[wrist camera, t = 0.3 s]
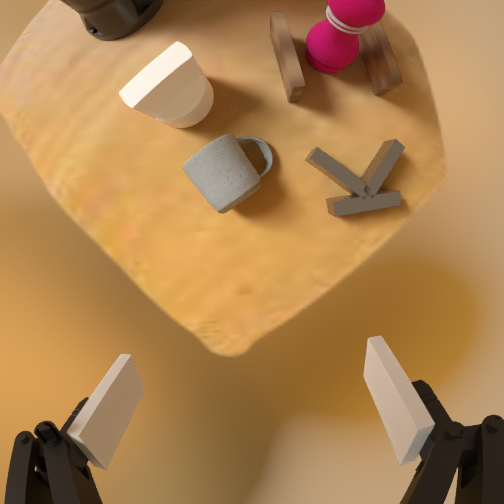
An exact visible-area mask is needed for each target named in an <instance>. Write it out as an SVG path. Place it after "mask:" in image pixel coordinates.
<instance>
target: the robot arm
mask: <svg viewBox="0 0 504 504" xmlns="http://www.w3.org/2000/svg"><path fill="white" fill-rule="evenodd" d="M61 1H62V2H64V3H65V4H67V5H68V6H69V7H71V8H72V9H74V10H75V11H77V12H78V13H79V15H80V17H81V19H82V21H83V24H84V26H85V28H86V30H87V31H88V32H89V33H90V34H91V35H92V36H94V37H95V38H97V39H99V40H105V41H108V40H115V39H118V38H121V37H124V36H126V35H129V34H130V33H132V32H134V31H136V30H137V29H139V28H140V27H142V26H143V25H144V24H145V23H147V22H148V21H149V20H150V19H151V18H152V17H153V16H154V15H155V13H156V12H157V11H158V9H159V8H160V6H161V4H162V2H163V0H61ZM364 379H365V381H366V383H367V385H368V388H369V390H370V392H371V395H372V397H373V399H374V402H375V404H376V407H377V409H378V412H379V414H380V416H381V419H382V421H383V424H384V426H385V429H386V431H387V434H388V436H389V439H390V441H391V444H392V446H393V449H394V452H395V454H396V457H397V460H398V462H399V465H403V464H406V463H409V462H412V461H415V460H416V458H417V457H418V455H419V454H420V456H421V459H422V461H421V462H420V464H419V465H418V467H417V468H416V473H415V475H414V477H413V479H412V481H411V483H410V485H409V487H408V489H407V491H406V493H405V495H404V497H403V499H402V500H401V502H400V504H443V503H444V501H445V499H446V496H447V494H448V491H449V488H450V486H451V483H452V481H453V478H454V475H455V472H456V469H457V468H458V478H457V488H456V497H455V504H504V420H503V419H502V418H501V417H500V416H498V415H490V416H487V417H486V418H485V419H484V420H483V422H482V424H479V425H473V426H463V425H462V424H461V423H458V422H453V421H452V420H451V419H450V417H449V415H448V414H447V412H446V411H445V409H444V408H443V406H442V405H441V403H440V401H439V400H438V399H437V397H436V395H435V394H434V392H433V390H432V389H431V387H430V386H429V385H428V384H427V383H425V382H424V381H422V380H418V381H415V382H410V380H409V379H408V377H407V376H406V374H405V372H404V371H403V369H402V367H401V366H400V365H399V363H398V361H397V359H396V358H395V356H394V355H393V353H392V352H391V350H390V348H389V347H388V345H387V344H386V343H385V341H384V339H383V338H382V336H376V337H371V338H368V343H367V352H366V361H365V368H364ZM145 390H146V389H145V386H144V384H143V382H142V379H141V377H140V375H139V372H138V370H137V368H136V365H135V363H134V360H133V358H132V355H131V354H130V355H129V354H120V356H119V357H118V358H117V360H116V361H115V362H114V364H113V365H112V367H111V368H110V369H109V371H108V372H107V374H106V375H105V376H104V378H103V379H102V381H101V382H100V383H99V385H98V386H97V388H96V389H95V391H94V392H93V394H92V395H91V396H90V398H88V397H86V398H85V399H84V400H82V401H81V402H79V404H78V406H77V407H76V408H75V410H74V411H73V412H72V415H71V416H70V417H69V418H68V420H67V422H66V423H65V424H64V426H63V427H62V429H61V430H60V431H59V430H58V429H57V427H56V426H55V424H54V423H52V422H51V421H43V422H41V423H39V424H38V425H37V426H36V428H35V430H34V433H35V435H36V436H37V437H38V438H35V437H34V436H33V434H32V433H31V432H29V431H22V432H21V433H19V434H18V435H17V436H16V438H15V442H14V447H13V451H12V456H11V461H10V466H9V472H8V478H7V485H6V493H5V504H103V503H102V501H101V498H100V496H99V493H98V491H97V488H96V485H95V483H94V480H93V477H92V474H91V471H90V469H89V466H88V465H87V462H88V460H89V461H90V462H91V463H92V464H93V465H94V466H95V467H99V468H102V469H105V470H107V468H108V466H109V464H110V462H111V459H112V457H113V455H114V453H115V451H116V449H117V447H118V445H119V443H120V440H121V438H122V436H123V434H124V432H125V430H126V428H127V426H128V424H129V422H130V420H131V418H132V416H133V414H134V412H135V410H136V408H137V406H138V404H139V402H140V400H141V398H142V396H143V394H144V392H145ZM35 466H36V467H37V470H36V471H35Z"/></svg>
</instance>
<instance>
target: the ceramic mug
mask: <svg viewBox="0 0 504 504" xmlns="http://www.w3.org/2000/svg"><path fill="white" fill-rule="evenodd" d="M241 142H254V143H256V144H257V145H258V146H259V147H260V149H261V151H262V152H263V154H264V158H265V159H266V160H267V164H266V167H265V169H264V170H263V172H262V173H261V174H260V175H258V173H257V171H256V170H255V168H254V167H253V165H252V164H251V162H250V161H249V159H248V158H247V156H246V155H245V153H244V151H243V150H242V148H241V147H240V145H239V144H238V143H241ZM272 162H273V156H272V152H271V150H270V148H269V147H268V145H267V144H266V143H265V142H264V141H263V140H262V139H260V138H257V137H251V136H249V137H242V138H239V139H237V140H236V139H235V138H234V136H233V135H232V134H226V135H224V136H221V137H219V138H218V139H216V140H214V141H212V142H211V143H209V144H208V145H206V146H205V147H203V148H202V149H201V150H199V151H198V152H197V153H195V154H194V155H193V156H192V157H191V158H189V159H188V160H187V161H186V163H185V164H184V165H183V170H184V172H185V173H186V174H187V175H188V177H189V178H190V179H191V181H192V182H193V183H194V185H195V186H196V187H197V188H198V190H199V191H200V192H201V193H202V195H203V196H204V197H205V199H206V200H207V201H208V203H209V204H210V205H211V206H212V207H213V208H214V209H215V210H216V211H217V212H219V213H226V212H227V211H229V210H231V209H232V208H234V207H235V206H237V205H238V204H240V203H241V202H243V201H244V200H245V199H247V198H248V197H249V196H251V195H252V194H254V193H255V192H256V191H257V190H259V188H260V187H261V183H262V182H261V180H260V178H261V177H262V176H264V175H265V174H266V173H267V172H268V171H269V169H270V168H271V166H272Z"/></svg>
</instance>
